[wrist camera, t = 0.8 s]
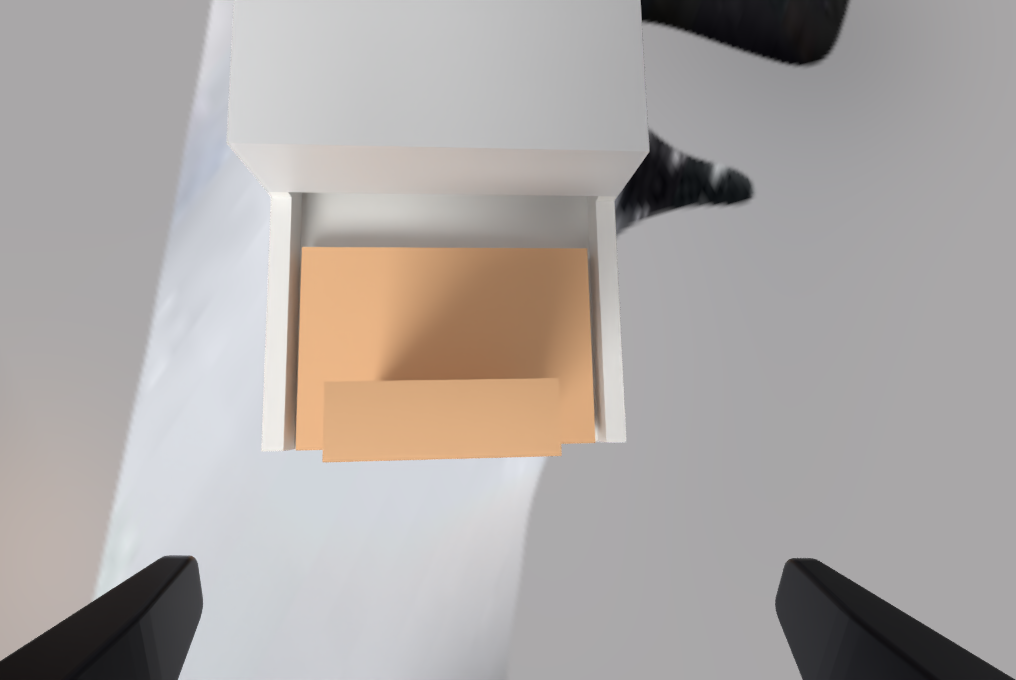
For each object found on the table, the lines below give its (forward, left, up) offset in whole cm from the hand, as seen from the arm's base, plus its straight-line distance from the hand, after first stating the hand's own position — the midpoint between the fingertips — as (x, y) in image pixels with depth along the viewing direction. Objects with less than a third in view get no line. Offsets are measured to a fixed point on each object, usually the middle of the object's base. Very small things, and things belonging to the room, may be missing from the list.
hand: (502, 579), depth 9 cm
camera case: (+8, +9, -18) cm, 22 cm away
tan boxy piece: (+3, +5, -15) cm, 16 cm away
